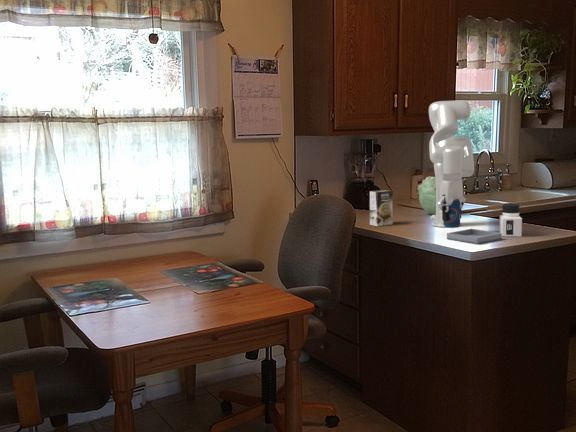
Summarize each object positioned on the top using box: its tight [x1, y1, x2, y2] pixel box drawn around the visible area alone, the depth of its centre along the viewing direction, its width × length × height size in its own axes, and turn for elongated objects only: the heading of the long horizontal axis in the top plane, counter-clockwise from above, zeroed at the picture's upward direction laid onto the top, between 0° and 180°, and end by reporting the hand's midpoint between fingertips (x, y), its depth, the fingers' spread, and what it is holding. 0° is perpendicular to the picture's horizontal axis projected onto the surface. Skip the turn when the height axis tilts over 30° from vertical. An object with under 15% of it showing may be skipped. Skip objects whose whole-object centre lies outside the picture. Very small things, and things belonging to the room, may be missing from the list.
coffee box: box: [369, 189, 394, 227], centre depth 289 cm, size 9×6×16 cm
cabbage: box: [417, 175, 436, 216], centre depth 313 cm, size 16×19×20 cm
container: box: [498, 202, 523, 237], centre depth 253 cm, size 8×8×13 cm
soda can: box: [443, 199, 461, 229], centre depth 259 cm, size 7×7×12 cm
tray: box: [446, 228, 503, 245], centre depth 247 cm, size 15×15×2 cm
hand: (451, 219), depth 260 cm, fingers closed on soda can, 7 cm apart
